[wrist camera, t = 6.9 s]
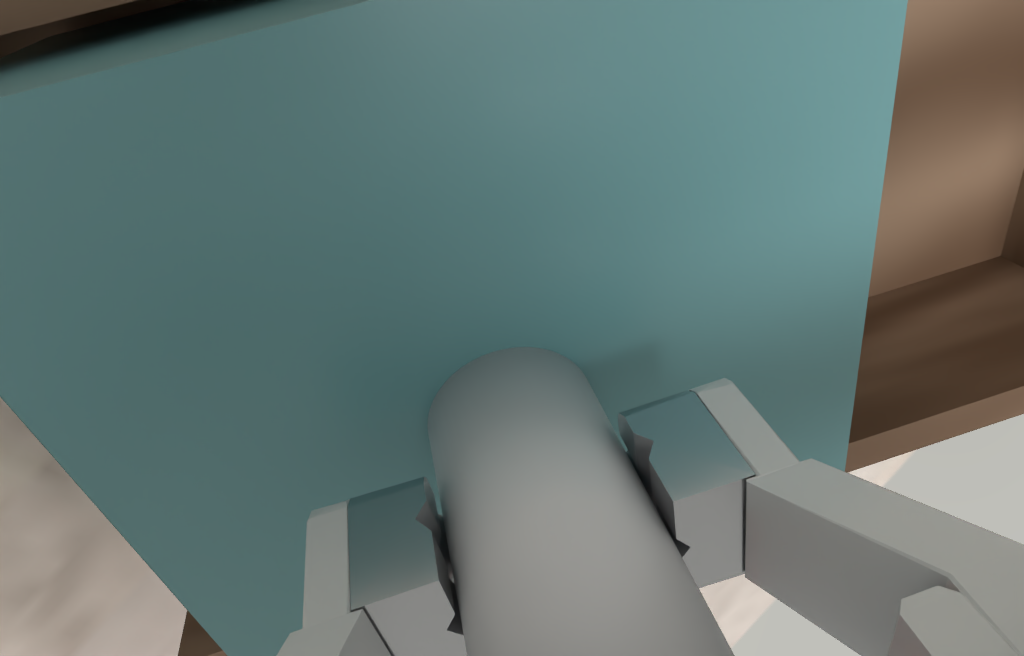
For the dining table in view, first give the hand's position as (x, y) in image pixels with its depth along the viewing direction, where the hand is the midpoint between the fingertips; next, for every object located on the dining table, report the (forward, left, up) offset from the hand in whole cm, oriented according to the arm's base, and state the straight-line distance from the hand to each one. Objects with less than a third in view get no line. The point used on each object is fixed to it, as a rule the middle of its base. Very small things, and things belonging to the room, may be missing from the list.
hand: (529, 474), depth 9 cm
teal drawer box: (0, 0, -8) cm, 8 cm away
